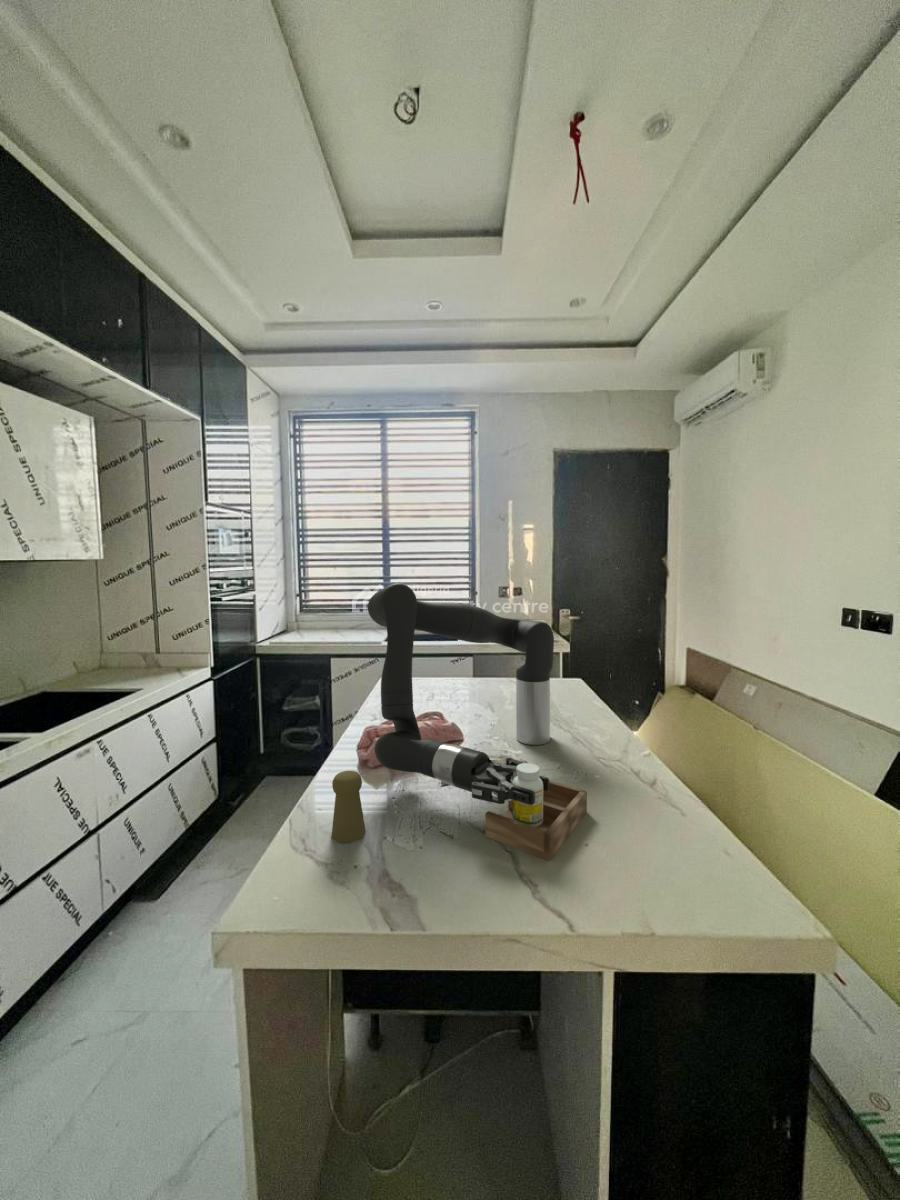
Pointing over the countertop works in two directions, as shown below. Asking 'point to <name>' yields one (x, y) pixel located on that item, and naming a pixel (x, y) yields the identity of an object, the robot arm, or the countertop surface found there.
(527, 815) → the supplement bottle
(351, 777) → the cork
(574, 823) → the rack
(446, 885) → the countertop surface
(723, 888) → the countertop surface
